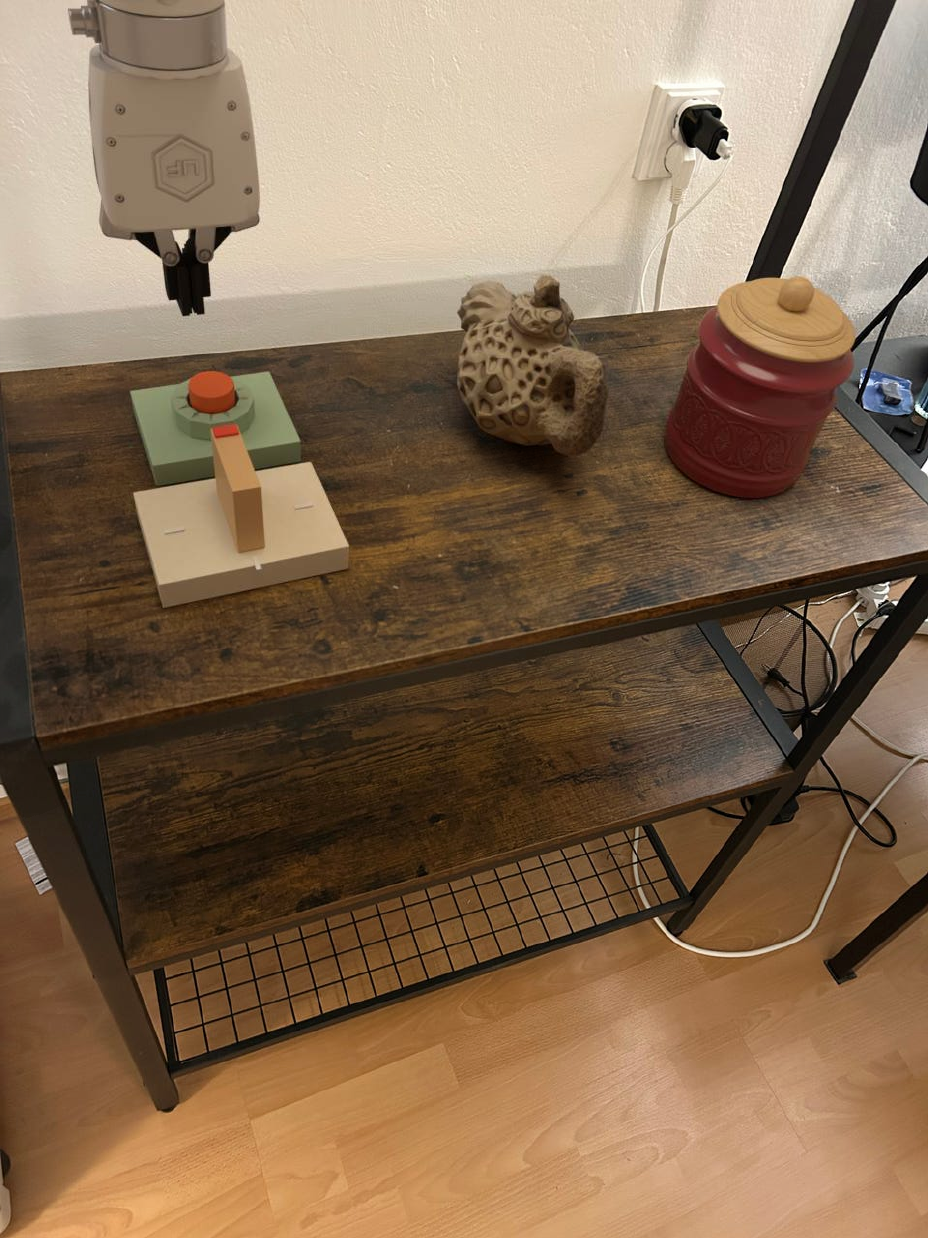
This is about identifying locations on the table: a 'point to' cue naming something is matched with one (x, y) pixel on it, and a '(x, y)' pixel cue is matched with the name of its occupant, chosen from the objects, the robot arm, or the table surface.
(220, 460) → the handle
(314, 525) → the panel
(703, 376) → the kitchen canister
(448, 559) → the table surface
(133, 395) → the button block
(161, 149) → the robot arm
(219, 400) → the button
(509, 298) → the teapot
